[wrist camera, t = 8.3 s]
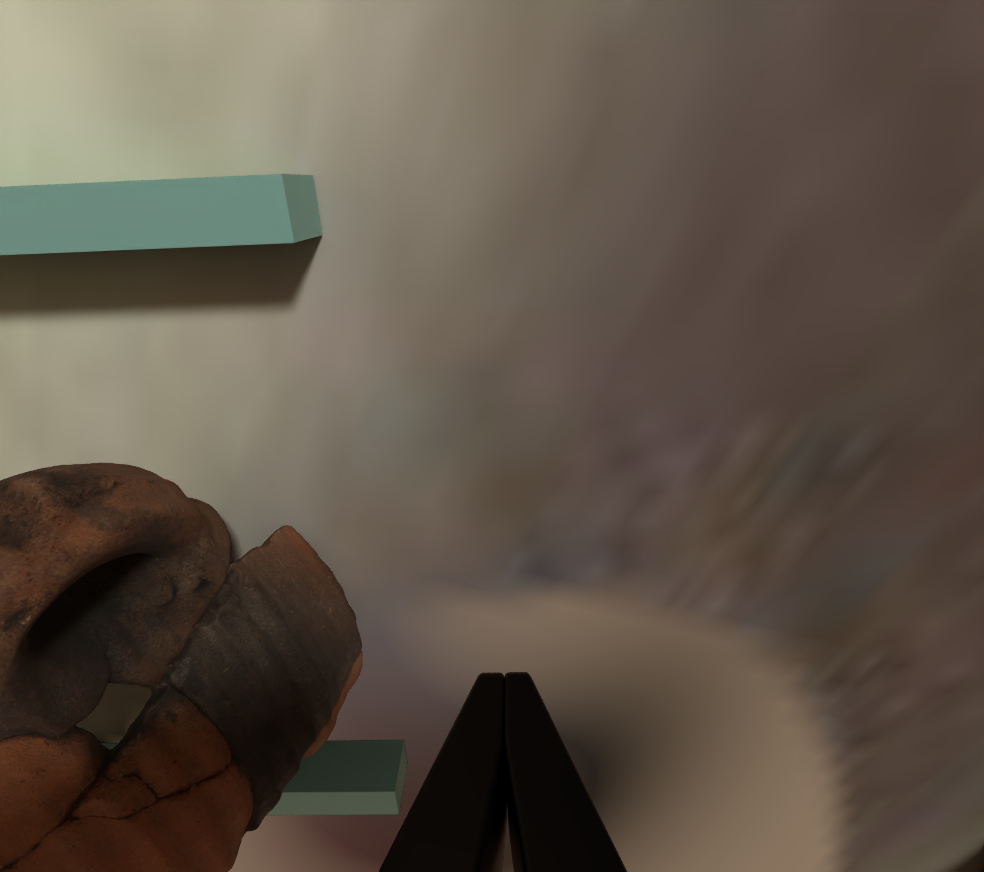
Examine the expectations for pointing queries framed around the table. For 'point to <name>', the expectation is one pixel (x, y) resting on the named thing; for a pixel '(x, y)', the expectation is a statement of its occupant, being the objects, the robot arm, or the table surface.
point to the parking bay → (201, 223)
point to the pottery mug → (154, 672)
